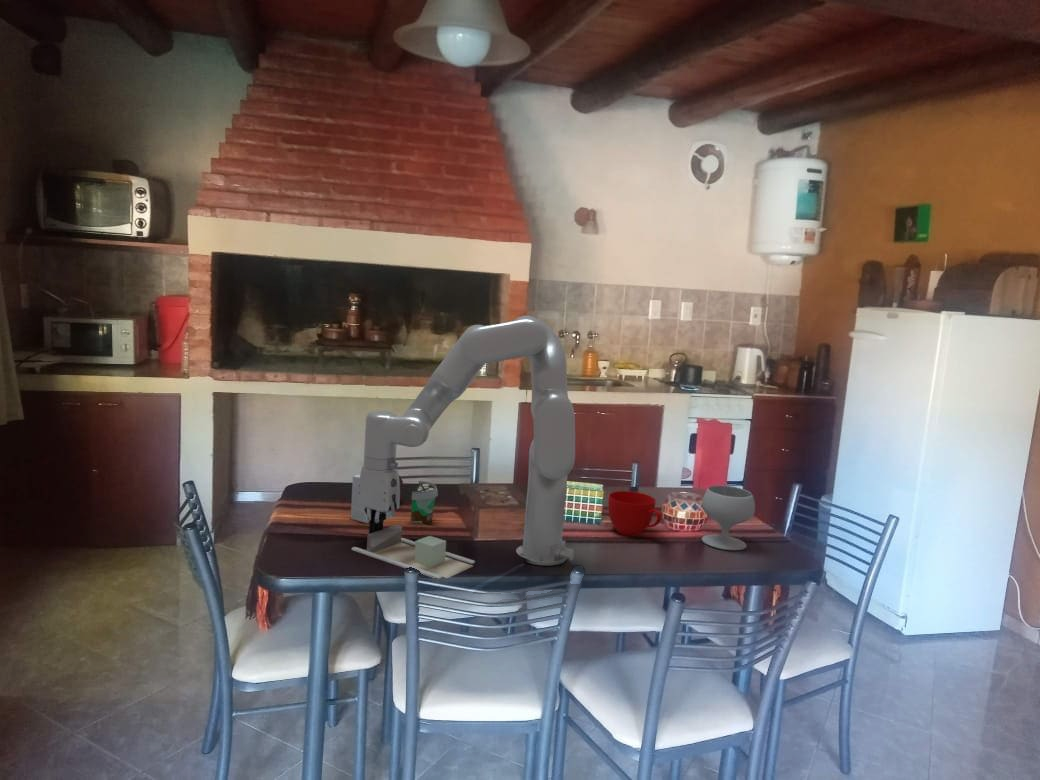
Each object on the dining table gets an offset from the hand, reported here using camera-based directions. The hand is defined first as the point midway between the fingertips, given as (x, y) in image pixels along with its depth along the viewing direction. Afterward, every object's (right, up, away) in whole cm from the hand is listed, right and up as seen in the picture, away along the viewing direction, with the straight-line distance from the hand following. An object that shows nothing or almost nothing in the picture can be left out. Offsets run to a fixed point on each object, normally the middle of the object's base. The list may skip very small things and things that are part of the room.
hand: (375, 536), depth 185 cm
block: (+14, -4, -9) cm, 17 cm away
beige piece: (+12, -5, -7) cm, 14 cm away
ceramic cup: (+67, -5, +27) cm, 72 cm away
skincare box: (-7, 0, +21) cm, 22 cm away
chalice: (+91, -7, +25) cm, 95 cm away
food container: (+9, -1, +23) cm, 24 cm away
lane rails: (+10, -5, -6) cm, 12 cm away
